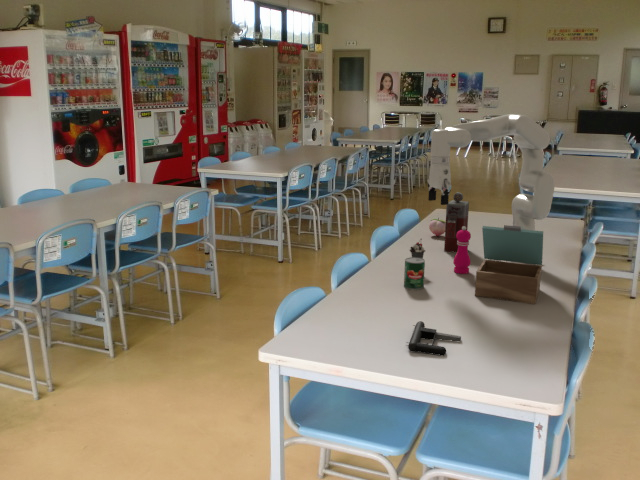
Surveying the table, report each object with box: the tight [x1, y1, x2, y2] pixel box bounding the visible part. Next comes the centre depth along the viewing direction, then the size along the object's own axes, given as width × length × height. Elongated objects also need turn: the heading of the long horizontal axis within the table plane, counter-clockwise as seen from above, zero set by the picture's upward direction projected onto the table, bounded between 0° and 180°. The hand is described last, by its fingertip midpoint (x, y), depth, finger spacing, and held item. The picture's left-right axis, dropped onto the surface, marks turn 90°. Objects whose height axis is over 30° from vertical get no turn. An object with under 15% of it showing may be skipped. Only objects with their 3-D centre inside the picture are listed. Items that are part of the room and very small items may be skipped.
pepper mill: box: [453, 226, 472, 275], centre depth 272 cm, size 7×7×20 cm
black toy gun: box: [405, 320, 462, 356], centre depth 201 cm, size 3×20×16 cm
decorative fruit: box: [428, 217, 446, 237], centre depth 335 cm, size 9×8×10 cm
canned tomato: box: [403, 256, 426, 291], centre depth 254 cm, size 8×8×11 cm
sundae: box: [409, 238, 426, 259], centre depth 270 cm, size 7×7×15 cm
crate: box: [474, 258, 543, 305], centre depth 247 cm, size 18×22×10 cm
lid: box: [481, 224, 544, 266], centre depth 247 cm, size 20×22×1 cm
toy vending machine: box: [443, 191, 470, 253], centre depth 305 cm, size 9×11×28 cm
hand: (438, 202), depth 262 cm, fingers open, 9 cm apart
